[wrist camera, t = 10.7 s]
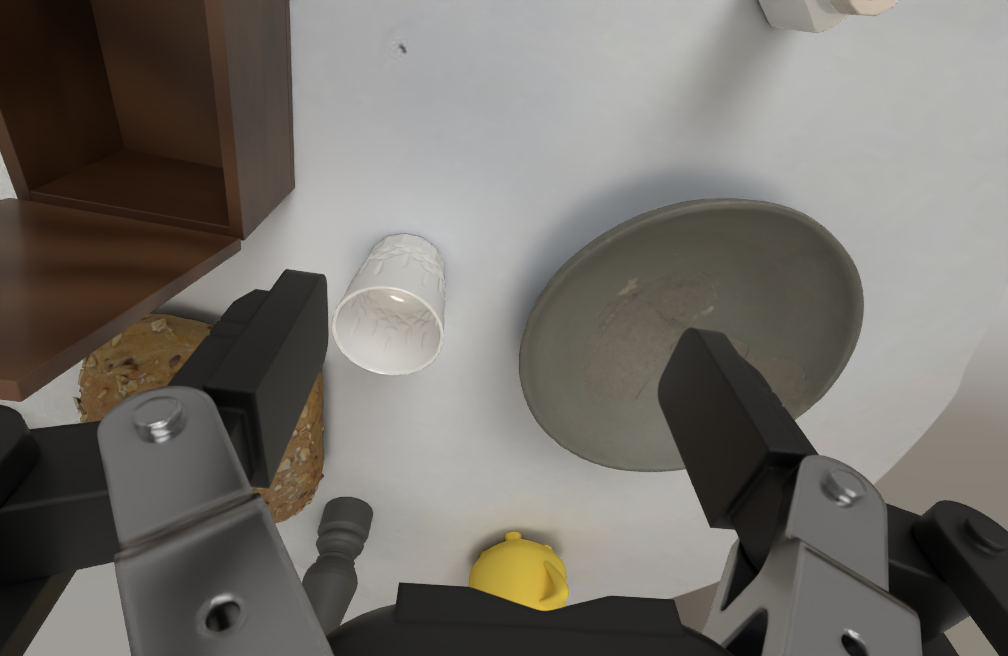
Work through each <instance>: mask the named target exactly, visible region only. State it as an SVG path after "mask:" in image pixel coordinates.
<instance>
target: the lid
mask: <svg viewBox="0 0 1008 656" xmlns="http://www.w3.org/2000/svg"><path fill="white" fill-rule="evenodd" d="M240 250H241V239H240V238H236V237H230V236H224V235H219V234H213V233H207V232H202V231H196V230H190V229H185V228H179V227H173V226H168V225H162V224H156V223H151V222H145V221H139V220H134V219H128V218H122V217H117V216H111V215H106V214H100V213H94V212H89V211H83V210H77V209H72V208H66V207H60V206H55V205H49V204H43V203H38V202H32V201H26V200H21V199H15V198H8V199H3V200H0V399H1V400H9V401H17V402H21V401H23V400H25V399H26V398H28V397H29V396H31V395H32V394H33V393H35V392H36V391H38V390H39V389H41V388H42V387H44V386H45V385H46V384H48V383H49V382H51V381H52V380H54V379H55V378H57V377H58V376H59V375H61V374H62V373H64V372H65V371H67V370H68V369H70V368H71V367H73V366H74V365H75V364H77V363H78V362H80V361H81V360H83V359H84V358H86V357H87V356H88V355H90V354H91V353H93V352H94V351H96V350H97V349H99V348H100V347H101V346H103V345H104V344H106V343H107V342H109V341H110V340H112V339H113V338H114V337H116V336H117V335H119V334H120V333H122V332H123V331H125V330H126V329H127V328H129V327H130V326H132V325H133V324H135V323H136V322H138V321H139V320H140V319H142V318H143V317H145V316H146V315H148V314H149V313H151V312H152V311H153V310H155V309H156V308H158V307H159V306H161V305H162V304H164V303H165V302H166V301H168V300H169V299H171V298H172V297H174V296H175V295H177V294H178V293H179V292H181V291H182V290H184V289H185V288H187V287H188V286H190V285H191V284H193V283H194V282H195V281H197V280H198V279H200V278H201V277H203V276H204V275H206V274H207V273H208V272H210V271H211V270H213V269H214V268H216V267H217V266H219V265H220V264H221V263H223V262H224V261H226V260H227V259H229V258H230V257H232V256H233V255H234V254H236V253H237V252H239V251H240Z"/></svg>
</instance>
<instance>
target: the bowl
mask: <svg viewBox="0 0 1008 656" xmlns="http://www.w3.org/2000/svg"><path fill="white" fill-rule="evenodd" d="M863 312H864V297H863V289H862V284H861V280H860V276H859V273H858V270H857V268H856V266H855V264H854V262H853V260H852V258H851V257H850V255H849V254H848V253H847V251H846V250H845V248H844V247H843V246H842V245H841V244H840V242H839V241H838V240H837V239H836V238H835V237H834V236H833V235H832V234H831V233H830V232H829V231H828V230H827V229H826V228H825V227H823V226H822V225H821V224H819V223H818V222H817V221H815V220H814V219H812V218H810V217H809V216H807V215H805V214H803V213H801V212H799V211H796V210H794V209H792V208H789V207H786V206H782V205H778V204H774V203H770V202H764V201H757V200H747V199H728V198H716V199H700V200H692V201H686V202H681V203H677V204H673V205H669V206H665V207H662V208H658V209H655V210H652V211H649V212H646V213H644V214H641V215H639V216H636V217H634V218H632V219H629V220H627V221H625V222H623V223H621V224H619V225H617V226H616V227H614V228H612V229H610V230H609V231H607V232H605V233H604V234H602V235H601V236H599V237H598V238H596V239H595V240H593V241H592V242H590V243H589V244H588V245H586V246H585V247H584V248H583V249H581V250H580V251H579V252H578V253H576V254H575V255H574V256H573V257H572V258H571V259H570V260H569V261H567V262H566V263H565V264H564V265H563V266H562V267H561V268H560V269H559V271H558V272H557V273H556V274H555V275H554V276H553V277H552V279H551V280H550V281H549V283H548V284H547V285H546V287H545V288H544V290H543V291H542V293H541V294H540V296H539V298H538V299H537V301H536V303H535V305H534V307H533V309H532V311H531V313H530V315H529V317H528V320H527V323H526V325H525V329H524V332H523V336H522V340H521V345H520V353H519V375H520V382H521V387H522V390H523V394H524V397H525V400H526V402H527V405H528V407H529V409H530V411H531V413H532V415H533V416H534V418H535V420H536V421H537V423H538V424H539V425H540V426H541V428H542V429H543V430H544V431H545V432H546V433H547V434H548V435H549V436H550V437H551V438H552V439H554V440H555V441H556V442H557V443H558V444H559V445H560V446H562V447H563V448H565V449H567V450H569V451H570V452H572V453H573V454H575V455H577V456H579V457H580V458H582V459H585V460H588V461H589V462H592V463H595V464H599V465H601V466H604V467H608V468H613V469H619V470H626V471H639V472H663V471H675V470H683V469H686V468H685V465H684V463H683V460H682V458H681V456H680V453H679V451H678V448H677V446H676V443H675V441H674V439H673V436H672V434H671V431H670V429H669V426H668V424H667V422H666V419H665V417H664V414H663V412H662V410H661V407H660V405H659V401H658V384H659V380H660V377H661V375H662V373H663V371H664V369H665V367H666V365H667V363H668V361H669V359H670V357H671V355H672V353H673V351H674V349H675V347H676V345H677V343H678V341H679V339H680V337H681V335H682V333H683V332H684V331H685V330H686V329H688V328H698V329H705V330H712V331H719V332H723V333H724V334H725V335H726V336H727V337H728V339H729V340H730V342H731V343H732V345H733V346H734V348H735V349H736V350H737V352H738V353H739V355H740V356H742V357H743V358H744V359H745V360H746V361H748V362H749V363H750V364H751V365H752V366H754V367H755V368H756V369H757V370H758V371H759V372H760V373H761V374H762V375H763V377H764V378H765V380H766V381H767V383H768V384H769V385H770V387H771V388H772V392H774V393H775V394H776V395H777V397H778V398H779V399H780V401H781V402H782V407H785V408H786V409H787V411H788V412H789V414H790V415H791V416H792V418H793V419H794V420H795V419H797V418H798V417H799V416H801V415H802V414H803V413H805V412H806V411H807V410H808V409H810V408H811V407H812V406H813V405H814V404H815V403H816V402H818V401H819V400H820V399H821V398H822V397H823V396H824V395H825V394H826V393H827V392H828V390H829V389H830V388H831V387H832V385H833V384H834V383H835V381H836V380H837V379H838V377H839V376H840V374H841V373H842V371H843V370H844V368H845V367H846V365H847V363H848V361H849V359H850V357H851V355H852V353H853V351H854V349H855V347H856V344H857V342H858V339H859V336H860V332H861V327H862V321H863Z"/></svg>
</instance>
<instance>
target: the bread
mask: <svg viewBox="0 0 1008 656" xmlns="http://www.w3.org/2000/svg"><path fill="white" fill-rule="evenodd" d="M213 327H214V326H213V325H210V324H206V323H203V322H199V321H196V320H192V319H183V318H180V317H176V316H172V315H164V314H150V313H149V314H148V315H146V316H145V317H143V318H142V319H140V320H139V321H138V322H136V323H135V324H133V325H132V326H130V327H129V328H127V329H126V330H125V331H123V332H122V333H120V334H119V335H117V336H116V337H114V338H113V339H112V340H110V341H109V342H107V343H106V344H104V345H103V346H101V347H100V348H99V349H97V350H96V351H94V352H93V353H91V354H90V355H88V356H87V357H86V358H84V360H83V364H82V368H84V369H83V370H80V374H79V379H78V384H79V385H80V386H81V387H80V390H79V392H81V398H80V399H79V398H76V397H73V398H74V401H75V404H76V407H77V409H79V410H78V412H80V411H81V414H82V416H81V418H80V421H81V423H87V422H94V421H100V420H102V419H103V418H104V416H105V415H106V414H107V413H108V412H109V411H110V410H111V409H112V408H113V407H114V406H116V405H117V404H118V403H120V402H121V401H123V400H125V399H127V398H128V397H130V396H133V395H135V394H137V393H140V392H143V391H146V390H149V389H153V388H158V387H164V386H167V384H168V383H169V382H170V381H171V379H172V378H173V377H174V376H175V374H176V373H177V372H178V371H179V369H180V368H181V367H182V366H183V364H184V363H185V362H186V361H187V359H188V358H189V357H190V356H191V354H192V353H193V352H194V351H195V349H196V348H197V347H198V346H199V344H200V343H201V342H202V341H203V339H204V338H205V337H206V336H207V335H209V334H210V331H211V329H212V328H213ZM324 429H325V428H324V427H323V376H322V367H321V370H320V372H319V374H318V377H317V379H316V381H315V384H314V386H313V388H312V391H311V393H310V395H309V398H308V400H307V402H306V405H305V407H304V409H303V412H302V414H301V416H300V419H299V421H298V423H297V425H296V428H295V430H294V432H293V435H292V437H291V439H290V442H289V444H288V446H287V449H286V451H285V453H284V456H283V458H282V460H281V463H280V465H279V467H278V470H277V472H276V474H275V477H274V479H273V481H272V483H271V486H270V488H269V489H268V488H256V487H251V488H252V490H253V492H254V494H255V493H257V492H259V493H260V494H261V496H262V498H263V499H264V501H265V503H266V505H267V507H268V509H269V512H270V514H271V516H272V518H273V520H274V523H278V522H282V521H285V520H287V519H288V518H290V517H291V516H293V515H297V514H298V513H299V512H300V511H302V510H303V508H304V507H305V506H306V505H307V504H310V503H311V501H312V498H313V497H314V495H315V490H316V491H317V489H318V484H319V481H320V480H321V479H322V478H323V477H324V475H323V474H322V468H323V460H324V452H323V442H322V434H323V430H324Z"/></svg>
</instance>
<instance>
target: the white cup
mask: <svg viewBox="0 0 1008 656" xmlns="http://www.w3.org/2000/svg"><path fill="white" fill-rule="evenodd" d="M444 279H445V275H444V262H443V260H442V258H441V256H440V254H439V252H438V250H437V249H436V248H435V247H434V246H432V245H431V244H430V243H428V242H427V241H426V240H425V239H423V238H421V237H417V236H413V235H409V234H399V235H392V236H387V237H386V238H385V239H383V240H382V241H380V242H379V243H378V244H376V245H375V246H374V247H373V249H372V251H371V253H370V255H369V256H368V258H367V259H366V260H365V261H364V263H363V264H362V266H361V267H360V269H359V270H358V272H357V274H356V275H355V277H354V278H353V280H352V282H351V284H350V285H349V287H348V289H347V291H346V293H345V294H344V296H343V298H342V300H341V301H340V303H339V305H338V307H337V308H336V310H335V313H334V315H333V319H332V332H333V337H334V339H335V342H336V344H337V346H338V347H339V349H340V350H341V352H342V353H343V354H344V355H345V356H346V357H347V358H348V359H349V360H350V361H352V362H353V363H354V364H356V365H358V366H359V367H361V368H363V369H365V370H368V371H370V372H373V373H377V374H382V375H390V376H398V375H406V374H411V373H414V372H417V371H419V370H421V369H423V368H425V367H426V366H428V365H429V364H430V363H432V362H433V361H434V359H435V358H436V357H437V356H438V354H439V352H440V350H441V348H442V345H443V339H444V319H445V282H444Z"/></svg>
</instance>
